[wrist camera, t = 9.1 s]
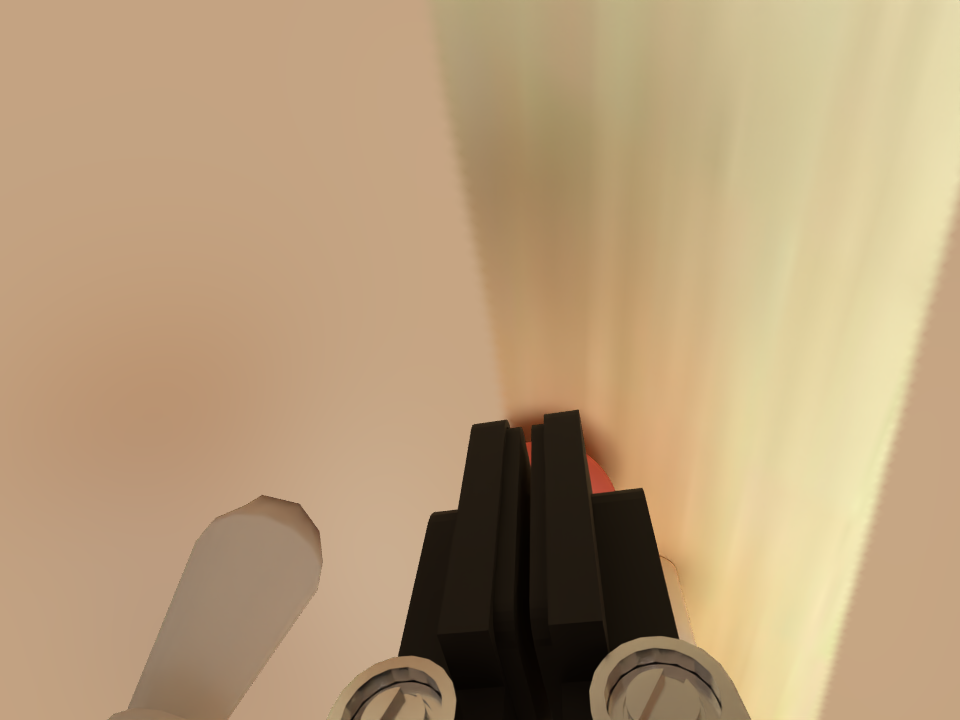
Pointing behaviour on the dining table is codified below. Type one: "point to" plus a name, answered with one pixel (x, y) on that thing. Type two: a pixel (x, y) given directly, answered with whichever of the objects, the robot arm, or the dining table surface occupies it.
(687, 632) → the pin
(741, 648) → the dining table surface
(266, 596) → the salt shaker
